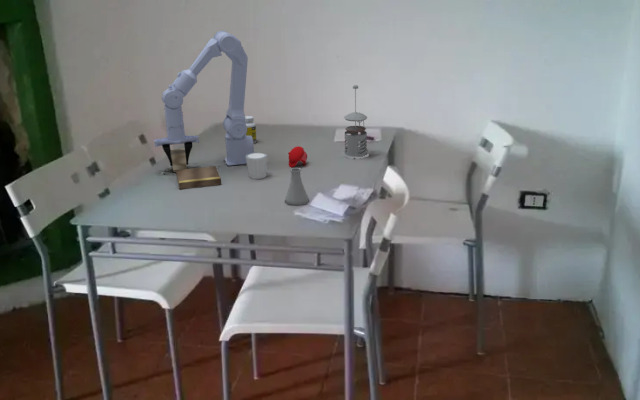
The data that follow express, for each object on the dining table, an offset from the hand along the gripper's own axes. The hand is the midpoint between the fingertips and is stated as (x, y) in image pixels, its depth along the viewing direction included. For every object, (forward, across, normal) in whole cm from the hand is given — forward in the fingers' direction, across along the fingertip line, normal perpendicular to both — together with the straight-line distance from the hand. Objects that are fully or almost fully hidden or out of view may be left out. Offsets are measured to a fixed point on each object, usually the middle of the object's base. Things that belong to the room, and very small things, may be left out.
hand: (179, 164), depth 226 cm
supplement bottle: (+2, +28, +24) cm, 37 cm away
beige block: (+1, 0, 0) cm, 1 cm away
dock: (+2, +5, -13) cm, 14 cm away
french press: (+2, +62, -4) cm, 62 cm away
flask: (+2, +31, -41) cm, 51 cm away
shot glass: (+2, +24, -15) cm, 28 cm away
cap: (+2, +39, -8) cm, 40 cm away
